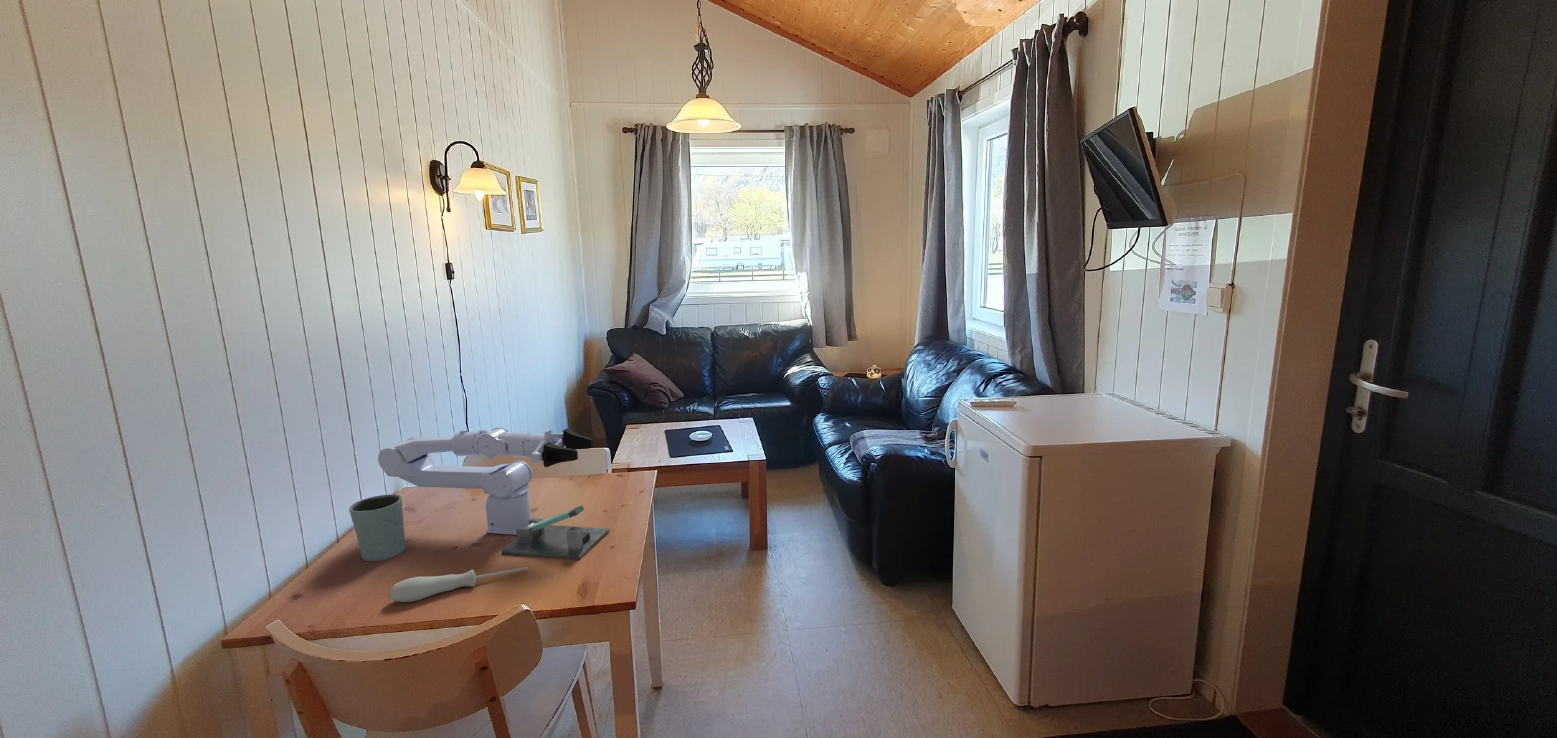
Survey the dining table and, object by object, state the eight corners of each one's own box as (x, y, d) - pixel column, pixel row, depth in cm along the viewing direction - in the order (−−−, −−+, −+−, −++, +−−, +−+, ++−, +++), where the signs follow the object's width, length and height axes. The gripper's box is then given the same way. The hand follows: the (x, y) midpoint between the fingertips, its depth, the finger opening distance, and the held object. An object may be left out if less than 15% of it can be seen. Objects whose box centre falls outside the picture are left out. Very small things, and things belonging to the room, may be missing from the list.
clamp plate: (501, 553, 143) (498, 530, 142) (537, 527, 156) (534, 505, 155) (579, 559, 139) (577, 535, 138) (609, 531, 152) (607, 509, 151)
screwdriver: (530, 583, 133) (529, 566, 131) (390, 610, 122) (387, 592, 120) (527, 568, 137) (527, 552, 135) (391, 594, 126) (389, 576, 124)
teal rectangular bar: (525, 535, 147) (522, 529, 147) (532, 529, 150) (529, 523, 150) (577, 515, 143) (574, 509, 143) (584, 510, 146) (581, 504, 146)
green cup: (381, 565, 139) (372, 513, 137) (345, 560, 142) (337, 509, 140) (419, 544, 149) (412, 495, 146) (385, 540, 152) (378, 492, 149)
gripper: (511, 439, 143) (568, 443, 141) (544, 419, 157) (596, 422, 155) (514, 469, 145) (570, 473, 143) (546, 446, 159) (598, 450, 157)
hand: (584, 449), depth 149 cm, fingers open, 7 cm apart
